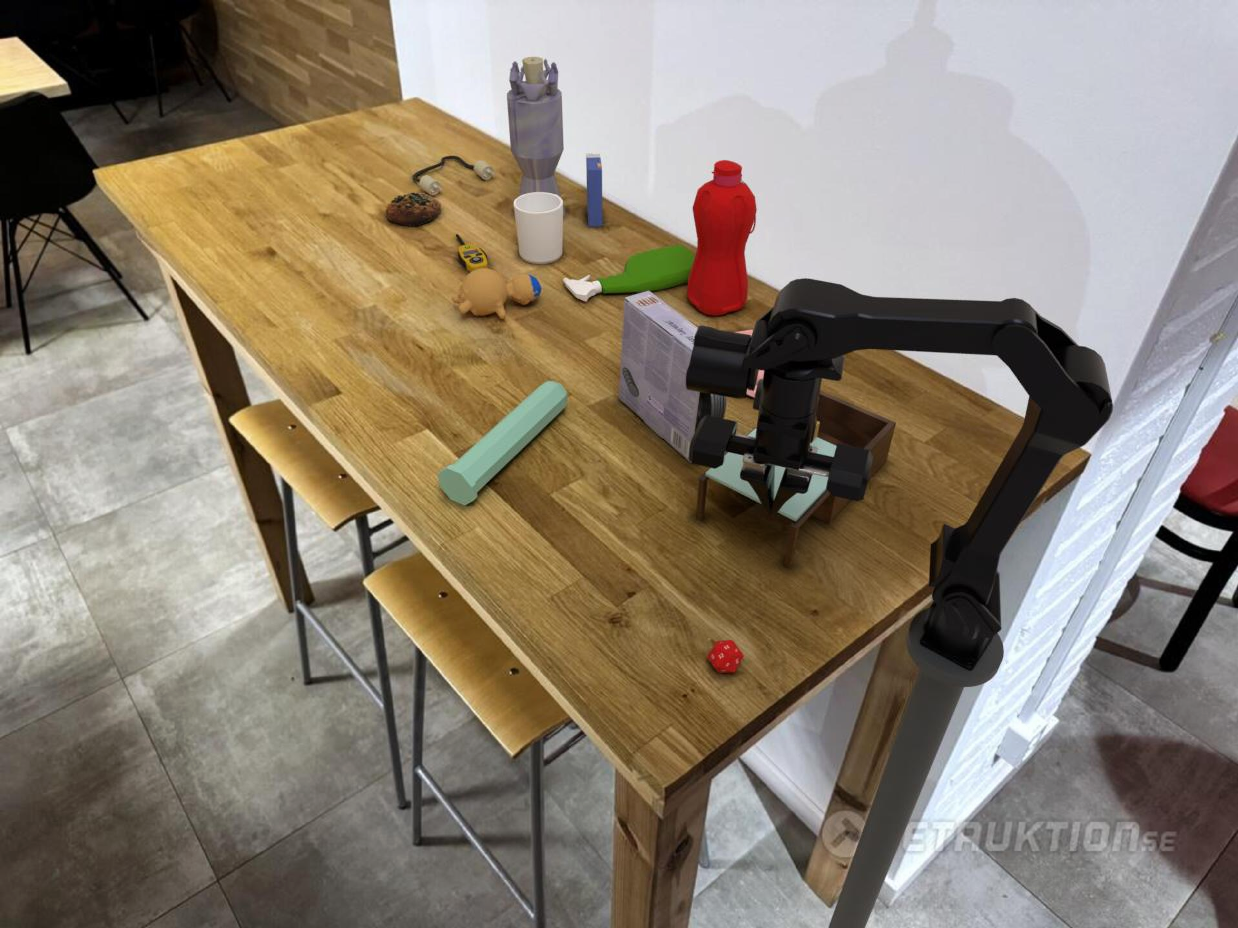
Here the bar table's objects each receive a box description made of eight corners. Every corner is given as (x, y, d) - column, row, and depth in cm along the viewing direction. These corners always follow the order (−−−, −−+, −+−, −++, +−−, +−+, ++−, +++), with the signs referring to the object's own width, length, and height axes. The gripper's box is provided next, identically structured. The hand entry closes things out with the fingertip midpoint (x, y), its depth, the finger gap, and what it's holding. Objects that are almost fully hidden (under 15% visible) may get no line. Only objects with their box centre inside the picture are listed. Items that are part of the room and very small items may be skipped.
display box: (886, 462, 128) (896, 422, 124) (788, 569, 113) (796, 528, 108) (798, 422, 135) (805, 383, 130) (695, 518, 119) (698, 478, 115)
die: (749, 648, 102) (729, 628, 100) (749, 674, 99) (729, 653, 98) (721, 658, 104) (701, 638, 102) (721, 684, 101) (700, 664, 99)
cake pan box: (723, 457, 129) (734, 350, 117) (695, 470, 127) (703, 363, 115) (644, 389, 141) (646, 287, 129) (616, 400, 139) (617, 297, 127)
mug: (546, 270, 169) (544, 217, 162) (507, 258, 172) (503, 206, 166) (580, 246, 176) (578, 195, 169) (541, 235, 179) (539, 184, 173)
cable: (393, 175, 200) (391, 160, 198) (458, 157, 208) (456, 142, 206) (430, 200, 191) (428, 184, 189) (496, 179, 199) (495, 164, 197)
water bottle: (761, 307, 159) (779, 167, 143) (707, 322, 155) (718, 180, 139) (732, 283, 165) (746, 146, 149) (679, 297, 162) (687, 158, 145)
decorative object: (568, 202, 190) (563, 49, 171) (562, 225, 183) (557, 67, 163) (519, 200, 191) (508, 48, 172) (511, 223, 183) (499, 65, 164)
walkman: (602, 226, 182) (602, 167, 174) (588, 227, 182) (587, 168, 174) (600, 209, 188) (600, 151, 180) (586, 209, 188) (585, 151, 180)
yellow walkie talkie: (467, 267, 166) (443, 231, 176) (468, 276, 167) (444, 240, 177) (492, 261, 167) (468, 227, 178) (493, 271, 168) (469, 236, 179)
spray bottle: (708, 280, 166) (584, 313, 158) (679, 254, 174) (559, 284, 165) (709, 266, 164) (584, 298, 156) (679, 240, 172) (558, 269, 164)
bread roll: (404, 231, 180) (399, 206, 177) (376, 219, 187) (371, 195, 184) (452, 217, 185) (448, 192, 183) (424, 206, 193) (419, 182, 190)
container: (548, 366, 135) (442, 460, 118) (580, 389, 134) (478, 487, 117) (536, 392, 139) (433, 486, 122) (568, 415, 138) (468, 513, 121)
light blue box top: (856, 458, 118) (860, 439, 116) (795, 521, 109) (799, 503, 107) (769, 418, 124) (771, 400, 122) (705, 475, 115) (706, 457, 113)
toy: (462, 326, 152) (548, 320, 158) (463, 282, 148) (551, 277, 154) (447, 303, 159) (529, 297, 165) (447, 260, 155) (532, 256, 161)
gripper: (891, 377, 97) (865, 487, 107) (719, 343, 102) (709, 452, 112) (877, 439, 89) (850, 552, 99) (691, 400, 94) (683, 512, 104)
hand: (771, 513), depth 104 cm, fingers closed
